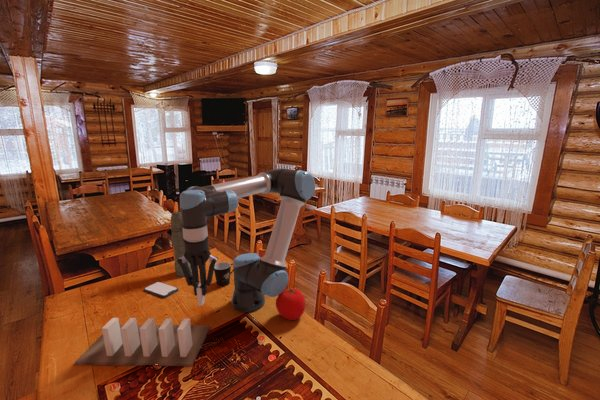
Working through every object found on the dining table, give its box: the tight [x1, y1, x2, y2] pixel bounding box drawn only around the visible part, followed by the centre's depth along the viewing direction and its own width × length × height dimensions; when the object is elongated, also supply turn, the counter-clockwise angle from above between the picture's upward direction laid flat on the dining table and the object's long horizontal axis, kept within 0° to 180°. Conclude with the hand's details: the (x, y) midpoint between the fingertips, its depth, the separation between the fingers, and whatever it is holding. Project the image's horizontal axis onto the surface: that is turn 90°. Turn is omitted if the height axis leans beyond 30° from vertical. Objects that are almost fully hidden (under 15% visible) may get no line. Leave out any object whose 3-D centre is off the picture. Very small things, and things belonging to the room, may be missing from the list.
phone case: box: [143, 281, 179, 299], centre depth 149 cm, size 9×2×16 cm
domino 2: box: [121, 317, 140, 356], centre depth 106 cm, size 2×6×11 cm, turn 179°
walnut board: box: [74, 324, 211, 367], centre depth 112 cm, size 40×20×1 cm, turn 89°
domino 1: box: [101, 317, 123, 356], centre depth 107 cm, size 2×6×11 cm, turn 179°
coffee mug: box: [213, 261, 234, 287], centre depth 155 cm, size 12×9×10 cm
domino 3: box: [140, 317, 158, 357], centre depth 106 cm, size 2×6×11 cm, turn 179°
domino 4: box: [158, 317, 175, 357], centre depth 106 cm, size 2×6×11 cm, turn 179°
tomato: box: [275, 287, 306, 321], centre depth 127 cm, size 12×12×13 cm
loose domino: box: [177, 317, 192, 357], centre depth 106 cm, size 2×6×11 cm, turn 179°
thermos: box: [170, 210, 192, 278], centre depth 162 cm, size 9×12×35 cm
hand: (201, 303), depth 103 cm, fingers closed
